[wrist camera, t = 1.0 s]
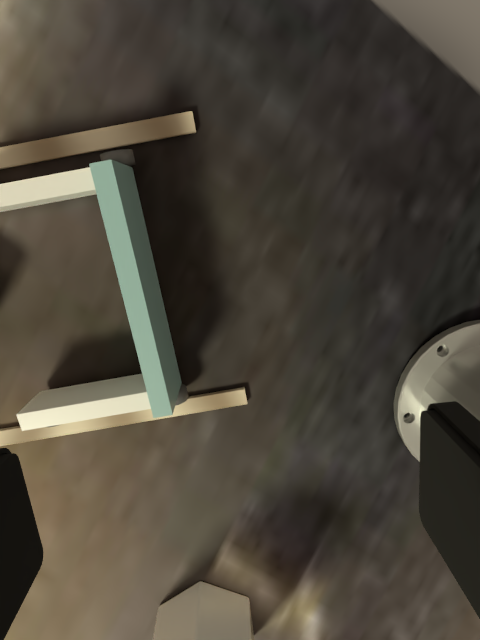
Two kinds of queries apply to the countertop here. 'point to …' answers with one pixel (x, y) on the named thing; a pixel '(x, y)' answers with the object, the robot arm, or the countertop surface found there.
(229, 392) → the track
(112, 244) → the green frame
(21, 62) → the countertop surface
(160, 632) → the jar
